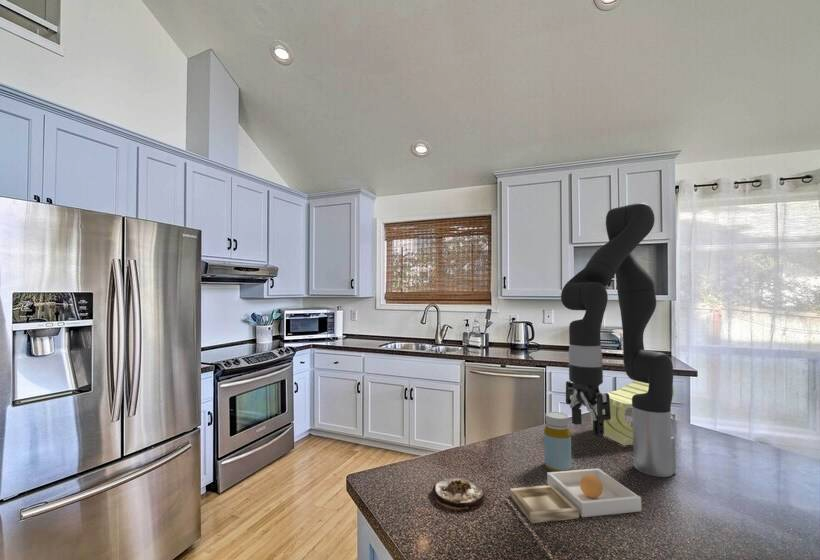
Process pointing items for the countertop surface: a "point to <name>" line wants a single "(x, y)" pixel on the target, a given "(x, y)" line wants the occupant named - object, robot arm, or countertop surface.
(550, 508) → the tray
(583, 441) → the countertop surface
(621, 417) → the pale yellow ridged piece
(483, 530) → the countertop surface
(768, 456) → the countertop surface
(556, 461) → the bottle
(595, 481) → the ball
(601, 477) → the dish
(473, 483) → the sushi roll
